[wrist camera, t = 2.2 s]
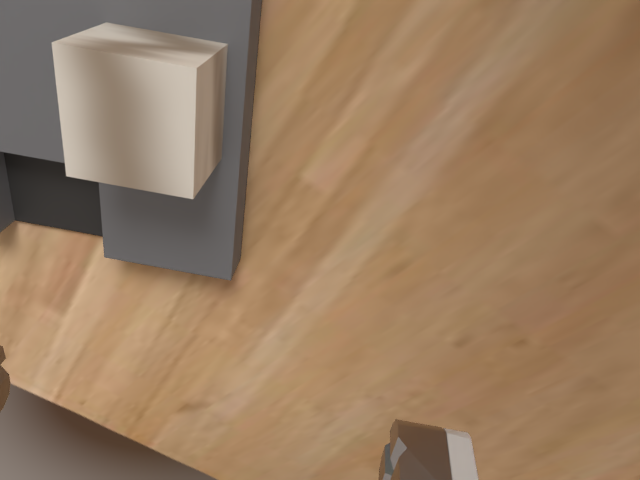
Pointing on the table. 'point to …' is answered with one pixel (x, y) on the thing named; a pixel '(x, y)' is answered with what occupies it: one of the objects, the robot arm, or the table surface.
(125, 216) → the trap board
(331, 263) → the table surface
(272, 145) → the table surface
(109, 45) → the cream block
